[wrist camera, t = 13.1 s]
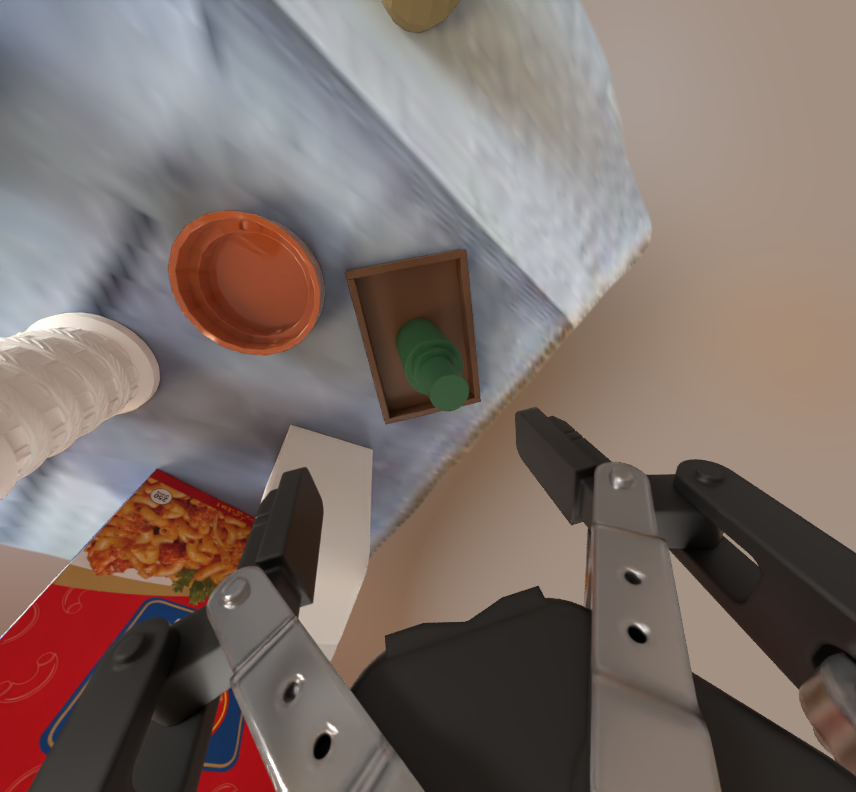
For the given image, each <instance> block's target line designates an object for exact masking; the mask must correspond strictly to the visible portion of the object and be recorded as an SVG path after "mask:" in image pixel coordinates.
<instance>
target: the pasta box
mask: <svg viewBox="0 0 856 792" xmlns="http://www.w3.org/2000/svg"><path fill="white" fill-rule="evenodd" d="M254 520H255V517H253V516H251V515H249V514H247V513H245V512H243V511H241V510H239V509H237V508H235V507H233V506H231V505H229V504H227V503H225V502H223V501H221V500H219V499H217V498H215V497H213V496H211V495H209V494H207V493H205V492H203V491H201V490H199V489H197V488H195V487H193V486H191V485H189V484H187V483H185V482H183V481H181V480H179V479H177V478H175V477H173V476H171V475H169V474H167V473H165V472H163V471H161V470H159V469H156V470H155V471H154V472H153V473H152V474H151V476H150V477H149V478H148V479H147V480H146V481H145V482H144V483H143V484H142V485H141V486H140V487H139V488H138V489H137V490H136V491H135V492H134V493H133V494H132V495H131V497H130V498H129V499H128V500H127V501H126V502H125V503H124V504H123V505H122V506H121V507H120V508H119V509H118V510H117V511H116V513H115V514H114V515H113V516H112V517H111V518H110V519H109V520H108V521H107V522H106V523H105V524H104V526H103V527H102V528H101V529H100V530H99V531H98V532H97V533H96V534H95V535H94V536H93V537H92V539H91V540H90V541H89V542H88V543H87V544H86V545H85V546H84V547H83V548H82V549H81V550H80V552H79V553H78V554H77V555H76V556H75V557H74V558H73V559H72V560H71V561H70V562H69V563H68V565H67V566H66V567H65V568H64V569H63V570H62V571H61V572H60V573H59V574H58V575H57V576H56V578H55V579H54V580H53V581H52V582H51V583H50V584H49V585H48V586H47V587H46V588H45V589H44V591H43V592H42V593H41V594H40V595H39V596H38V597H37V598H36V599H35V600H34V601H33V602H32V604H31V605H30V606H29V607H28V608H27V609H26V610H25V611H24V612H23V613H22V614H21V616H20V617H19V618H18V619H17V620H16V621H15V622H14V623H13V624H12V625H11V626H10V627H9V628H8V630H7V631H6V632H5V633H4V634H3V635H2V636H1V637H0V792H27V791H28V789H29V787H30V785H31V784H32V782H33V780H34V778H35V776H36V775H37V773H38V771H39V769H40V768H41V766H42V764H43V762H44V760H45V759H46V757H47V755H48V753H49V751H50V750H51V748H52V746H53V744H54V743H55V741H56V739H57V737H58V735H59V734H60V732H61V730H62V728H63V726H64V725H65V723H66V721H67V719H68V718H69V716H70V714H71V712H72V710H73V709H74V707H75V705H76V703H77V702H78V700H79V698H80V696H81V694H82V693H83V691H84V689H85V687H86V685H87V684H88V682H89V680H90V678H91V677H92V675H93V673H94V671H95V669H96V668H97V666H98V664H99V662H100V661H101V659H102V657H103V656H104V655H105V653H106V652H107V651H108V649H109V648H110V647H111V646H112V645H113V644H114V643H115V642H116V641H117V640H118V639H119V638H120V637H121V636H122V635H123V634H124V633H125V632H127V631H128V630H129V629H131V628H132V627H134V626H135V625H137V624H138V623H140V622H142V621H144V620H147V619H149V618H153V617H163V618H165V619H166V620H167V621H168V622H169V623H170V624H171V625H172V624H173V623H175V622H177V621H179V620H180V619H182V618H184V617H186V616H187V615H189V614H191V613H193V612H194V611H196V610H198V609H200V608H201V607H203V606H205V605H206V604H207V603H208V600H209V598H210V596H211V594H212V592H213V591H214V589H215V588H216V587H217V586H218V585H219V584H220V583H221V582H222V581H223V580H224V579H225V578H226V577H227V576H229V575H230V574H231V573H233V572H235V571H236V570H237V567H238V565H239V562H240V559H241V556H242V554H243V551H244V548H245V545H246V542H247V540H248V537H249V534H250V531H251V529H253V527H252V526H253V523H254ZM197 792H276V790H275V788H274V786H273V783H272V781H271V779H270V777H269V774H268V772H267V770H266V767H265V765H264V763H263V760H262V758H261V756H260V753H259V751H258V749H257V746H256V744H255V742H254V739H253V737H252V735H251V732H250V730H249V728H248V725H247V723H246V721H245V718H244V716H243V714H242V711H241V709H240V707H239V704H238V702H237V700H236V697H235V695H234V693H233V690H232V688H229V689H228V690H227V691H225V692H224V693H222V694H221V697H220V701H219V705H218V709H217V713H216V717H215V721H214V725H213V729H212V733H211V737H210V741H209V745H208V749H207V753H206V757H205V761H204V765H203V769H202V773H201V777H200V781H199V785H198V789H197Z"/></svg>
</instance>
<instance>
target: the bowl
mask: <svg viewBox="0 0 856 792" xmlns="http://www.w3.org/2000/svg"><path fill="white" fill-rule="evenodd" d="M168 272H169V277H170V283H171V289H172V293H173V295H174V296H175V298H176V300H177V302H178V304H179V306H180V308H181V310H182V312H183V314H184V315H185V316H186V317H187V318H188V319H189V320H190V321H191V323H192V324H193V325H194V326H195V327H196V328H197V329H198V330H199V331H200V332H201V333H202V334H204V335H205V336H207V337H208V338H210V339H211V340H213V341H214V342H216V343H217V344H219V345H220V346H223V347H226V348H229V349H231V350H234V351H237V352H240V353H243V354H254V355H269V354H274V353H279V352H284V351H286V350H288V349H289V348H291V347H293V346H295V345H296V344H298V343H300V342H301V341H302V340H303V339H304V338H305V337H306V336H307V334H308V333H309V332H310V331H311V330H312V328H313V327H314V325H315V324H316V322H317V320H318V319H319V316H320V313H321V311H322V308H323V305H324V301H325V282H324V279H323V275H322V272H321V269H320V265H319V263H318V261H317V260H316V258H315V256H314V255H313V253H312V252H311V250H310V249H309V247H308V246H307V245H306V243H305V242H304V241H302V240H301V239H300V238H299V237H298V236H297V235H296V234H295V233H294V232H292V231H291V230H290V229H289V228H287V227H285V226H283V225H281V224H279V223H277V222H275V221H273V220H271V219H269V218H266V217H262V216H259V215H256V214H250V213H245V212H239V211H233V210H226V211H220V212H214V213H208V214H204V215H202V216H201V217H199V218H198V219H196V220H194V221H193V222H191V223H189V224H188V225H186V226H185V227H184V228H183V230H182V231H181V233H180V234H179V236H178V237H177V239H176V240H175V242H174V243H173V245H172V249H171V254H170V259H169V265H168Z"/></svg>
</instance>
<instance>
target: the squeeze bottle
mask: <svg viewBox="0 0 856 792" xmlns="http://www.w3.org/2000/svg"><path fill="white" fill-rule="evenodd" d="M382 2H383V4H384V6H385V8H386V10H387V11H388V13H389V15H390V16H391V18H392V19H393V21H394V22H395V23H396V24H398V25H399V26H400V27H402V28H403V29H404V30H406V31H410V32H416V33H420V32H422V31H425V30H427V29H430V28H431V27H433V26H435V25H437V24H438V23H440V22H442V21H443V20H445V19H446V18H447V17H448V15H449V14H450V13H451V12H452V10H453V9H454V8H455V7H456V6H457V4H458V3H459V2H460V0H382Z"/></svg>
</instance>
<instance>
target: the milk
mask: <svg viewBox="0 0 856 792" xmlns="http://www.w3.org/2000/svg"><path fill="white" fill-rule="evenodd" d="M372 457H373V450H372V449H369V448H366V447H362V446H359V445H356V444H353V443H349V442H346V441H343V440H340V439H336V438H333V437H330V436H326V435H323V434H320V433H317V432H313V431H310V430H307V429H304V428H300V427H297V426H294V425H290V427H289V430H288V432H287V435H286V437H285V440H284V442H283V445H282V447H281V450H280V452H279V455H278V457H277V460H276V462H275V465H274V467H273V470H272V472H271V475H270V478H269V480H268V483H267V485H266V488H265V491H264V494H263V497H262V500H261V502H262V501H263V500H264V498H265V497H266V496H267V495H268V493H269V492H270V491H271V490H274V489H278V486H279V483H280V480H281V477H282V474H283V473H284V472H287V471H291V470H295V469H298V468H302V467H307V468H308V470H309V472H310V474H311V476H312V478H313V481H314V483H315V485H316V487H317V489H318V491H319V494H320V496H321V498H322V502H323V508H324V515H323V524H322V532H321V541H320V549H319V558H318V566H317V575H316V583H315V592H314V600H313V604H310V605H306V606H303V607H300V611H299V617H298V619H299V620H300V622H301V623H302V624H303V626H304V627H305V629H306V630H307V631H308V633H309V634H310V635H311V637H312V638H313V639H314V641H315V642H316V644H317V645H318V646H319V648H320V649H321V650H322V652H323V653H324V655H325V656H326V657H327V659H328V660H329V661H331V659H332V657H333V655H334V653H335V651H336V648H337V646H336V645H337V644H338V643H339V641H340V639H341V636H342V634H343V631H344V629H345V626H346V623H347V621H348V618H349V616H350V613H351V611H352V608H353V606H354V603H355V601H356V598H357V595H358V593H359V590H360V588H361V585H362V583H363V580H364V577H365V574H366V571H367V567H368V562H369V554H370V523H371V490H372ZM260 504H261V503H260Z"/></svg>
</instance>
